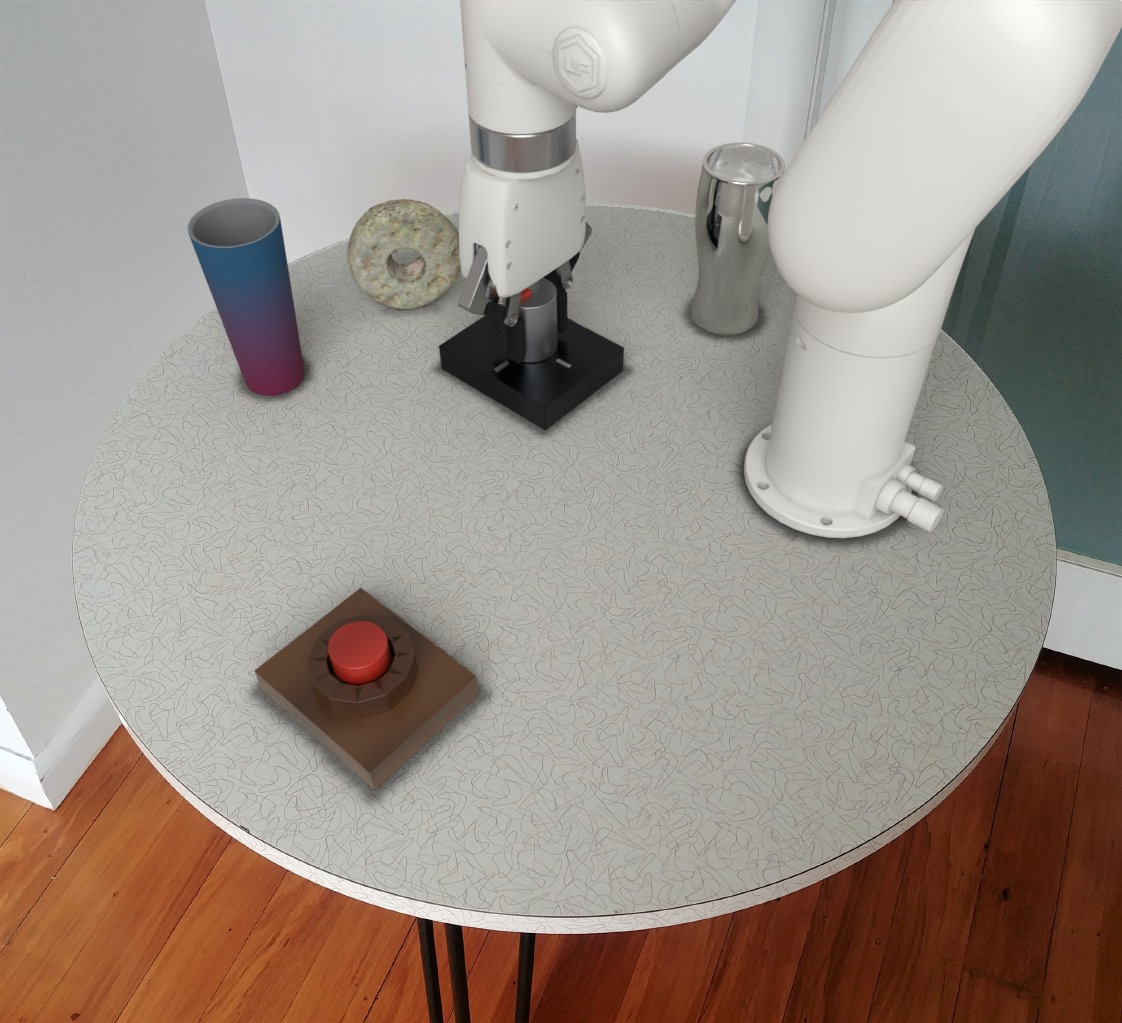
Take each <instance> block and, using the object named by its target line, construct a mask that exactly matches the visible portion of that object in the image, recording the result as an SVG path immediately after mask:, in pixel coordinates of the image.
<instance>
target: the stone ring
mask: <svg viewBox="0 0 1122 1023" xmlns="http://www.w3.org/2000/svg"><path fill="white" fill-rule="evenodd" d="M347 244H348V245H347V254H346V255H347V256H346V257H347V263H348V266H349V270H350V272H351V276H352V278H353V280H354V282H355V284H356V285H357V287H358V288H359V289H360V290H361V291H362V292H363V293H364V294H366V295H367V296H368V297H369V298H371V299H372V300H374V301H375V302H376V303H378V304H382V305H386V306H388V307H390V308H394V309H399V310H415V309H418V308H421V307H423V306H426V305H430V304H431V303H433V302H435V301H437V300H438V299H440V298H441V297H442V296H443V295H445V294H447V293H448V292H449V291H450V290H451V289H452V288H453V286H454V285H455V284H456V283H457V280H458V278H459V274H460V272H461V266H460V252H459V229H457V227H456V226H455V224H453V222H452V221H451V220H450V219H449V218H448V217H447V216H446V215H444V213H442V211H440V210H439V209H437V208H435V207H434V206H432V205H430V204H428V202H427V203H426V202H422V201H421V200H415V199H414V200H413V199H410V198H409V199H405V198H401V199H391V200H386V201H384V202H382V203H381V202H380V203H378V204H376V205H373V206H371V207H369V208H368V210H367V211H365V212H364V213H363V214H362V216H361V217H360V218H359V219H358V220H357V221H356V223H355V225H354V227H353V228H352V231H351V232H350V236H349V239H348V243H347ZM407 249H408V250H411V251H413V252H416V253H417V254H418V255H419V256H418V257H416V258H415V259H414V260H412V261H411V262H409V263H406V264H404V263H398V262H397V261H396V260H394V258H393V256H392V255H393V254H394V253H397V252H398V251H400V250H407Z"/></svg>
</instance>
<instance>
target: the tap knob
mask: <svg viewBox="0 0 1122 1023" xmlns="http://www.w3.org/2000/svg"><path fill="white" fill-rule="evenodd" d="M501 301H502V303H501V304H503V306H505V302H506V297H505V298H501ZM518 319H520V320H522V321H523V323H524V332H525V360H524V361H522V362H539V361H543V360H546V359H548V358H549V357H551V356H552V355H553V354H554V353H555V352H556V350H557V290H556V287H555V285H554V284H553V283H552V282H550V281H549V280H547V279H545V278H541V279H540V280H538V281H536V282H535V283H533V284H532V285H530V286H529V287H527V288H526V289H524V290H522V294H521V302H520V309H519V316H518Z"/></svg>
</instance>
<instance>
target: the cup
mask: <svg viewBox="0 0 1122 1023" xmlns="http://www.w3.org/2000/svg"><path fill="white" fill-rule="evenodd" d="M187 234H188V236H189V239H190V241H191V244H192V246H193V250H194V252H195V254H196V257H197V260H198V263H199V266H200V268H201V271H202V274H203V276H204V279H205V281H206V284H207V287H208V288H209V292H210V294H211V296H212V300H213V302H214V305H215V307H216V310H217V312H218V315H219V317H220V320H221V323H222V326H223V328H224V331H225V333H226V336H227V339H228V341H229V344H230V346H231V350H232V351H233V354H234V357H235V359H236V363H237V365H238V367H239V370H240V372H241V375H242V379H243V381H244V383H245V385H246V387H247V389H249V391H250V392H253V393H254V394H256V395H261V396H268V397H269V396H270V397H273V396H280V395H284V394H287V393H289V392H290V391H293V390H295V389H296V388H297V387H299V385H300V384H301V383H302V382H303V381H304V378H305V374H306V372H305V365H304V359H303V358H304V357H303V353H302V346H301V345H302V344H301V341H300V333H299V327H298V322H297V314H296V309H295V301H294V297H293V296H294V295H293V289H292V283H291V277H290V270H289V263H288V258H287V251H286V246H285V240H284V239H285V238H284V233H283V226H282V221H281V215H280V212H279V210H278V208H276V207H275V206H274V205H272V204H271V203H269V202H267V201H266V200H265V201H264V200H261V199H256V198H248V197H247V198H246V197H240V198H239V197H238V198H231V199H224V200H220V201H217V202H213V203H212V204H208V205H207V206H205V207H202V208H201V209H200V210H199V211H198V212H196V213H195V214H194V215H193V216H192V217H191V218H190V220H189V221H188V224H187Z"/></svg>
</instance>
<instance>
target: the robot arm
mask: <svg viewBox="0 0 1122 1023" xmlns="http://www.w3.org/2000/svg"><path fill="white" fill-rule="evenodd" d="M736 2H737V0H459V5H460V6H459V7H460V18H461V19H460V20H461V32H462V45H463V46H462V47H463V58H464V59H463V60H464V72H465V73H464V74H465V85H466V100H467V111H468V113H467V114H468V125H469V126H468V128H469V138H470V139H469V140H470V152H471V157H470V158H468V159H467V160H466V161H464V163H463V169H462V175H461V182H460V190H459V204H458V232H459V252H460V266H461V269H460V272H461V276H462V278H463V279H465V281H464V285H463V287H462V290H461V293H460V295H459V298H458V301H457V305H458V307H459V308H461V309H463V310H464V311H466V312H467V313H470V314H472V315H478V316H485V315H486V316H489V317H490V319H491V333H492V346H493V348H494V349H495V350H496V351H497V352H499V353H501V354H503V355H504V356H506V357H508V358H510V359H511V360H513V361H515V362H517V363H521V362H522V361H524V360H525V332H524V323H523V321H522V320H520V319H518V316H519V309H520V302H521V294H522V290H524V289H526V288H527V287H529V286H530V285H532V284H533V283H535V282H536V281H538V280H540V279H541V278H545V279H547V280H549V281H550V282H552V283H553V284H554V285H555V287H556V290H557V332H559V333H563V332H564V331H566V330H567V328H568V318H569V317H568V312H569V310H568V308H569V307H568V305H569V304H568V291H567V290H569V289H570V288H571V287H572V285H573V282H574V276H573V271H574V269H575V266H576V265H577V262H578V260H579V259H580V256H581V251H582V250H583V249H584V248H585V245H586V244H587V242H588V240H589V239H590V238H591V235H592V234H593V228H592V226H591V225H590V224H589V222H588V221H587V203H586V201H587V200H586V199H587V198H586V184H585V174H584V167H583V166H584V165H583V161H582V155H581V149H580V145H579V141H578V139H577V109H578V107H579V108H582V109H584V110H587V111H590V112H594V113H602V114H603V113H604V114H608V113H613V112H619V111H621V110H623V109H625V108H628V107H630V106H631V105H632V104H635V103H636V102H637V101H638V100H639V99H641V98H642V97H643V96H644V95H645V94H646V93H647V92H649V91H650V90H651V89H652V88H653V87H654V86H655V85H656V84H658V83H659V82H661V80H662V79H663V78H664V77H666V75H667V74H668V73H669V72H670V71H671V70H672V69H674V68H675V67H676V66H677V65H678V64H679V63H680V62H682V61H683V60H684V59H685V58H686V57H687V56H689V55H690V54H691V53H693V52H694V51H695V50H696V49H697V48H699V47H700V45H701V44H702V43H704V41H706V39H707V38H708V37H709V36H710V35H711V34H712V33H713V31H714V30H715V29H716V28H717V26H718V25H719V24H720V23H721V21H722V20H723V19H724V18H725V16H726V15H727V14H728V12H729V11H730V10H731V9H732V7H733V6H734V4H735V3H736ZM1121 30H1122V0H894V1H893V3H892V4H891V5H890V7H889V9H888V10H887V11H886V13H885V14H884V16H883V17H882V18H881V20H880V21H879V22H878V25H877V26H876V27H875V29H874V31H873V32H872V34H871V35H870V37H869V38H868V40H867V42H866V43H865V44H864V46H863V48H862V49H861V51H860V53H859V54H858V55H857V57H856V58H855V60H854V62H853V64H852V65H851V66H850V67H849V70H848V71H847V73H846V75H845V76H844V78H843V79H842V81H841V82H840V84H839V86H838V87H837V88H836V90H835V91H834V93H833V95H832V96H831V97H830V99H829V101H828V103H827V104H826V106H825V107H824V109H823V110H822V112H821V114H819V117H818V118H817V119H816V121H815V123H814V125H813V126H812V127H811V129H810V130H809V132H808V134H807V136H806V137H805V139H804V140H803V142H802V143H801V145H800V147H799V148H798V150H797V151H796V152H795V154H794V156H793V157H792V159H791V160H790V162H789V164H788V165H787V167H785V170H784V173H783V175H782V177H781V178H780V180H779V182H778V184H777V186H776V188H775V191H774V194H773V196H772V199H771V203H770V207H769V214H768V239H769V245H770V253H771V256H772V259H773V262H774V264H775V267H776V269H777V271H778V272H779V274H780V276H781V277H782V279H783V280H784V282H785V283H786V284H787V285H788V287H789V288H790V289H791V290H792V291H793V292H794V293H795V294H796V296H795V300H794V303H793V304H794V305H793V310H792V316H791V320H790V327H789V331H788V337H787V342H786V347H785V352H784V359H783V363H782V369H781V375H780V380H779V385H778V390H777V391H778V392H777V394H776V395H777V397H776V401H775V406H774V412H773V416H772V418H773V419H772V423H770V424H769V425H767V426H765V428H762V429H761V430H760V431H759V432H758V433H757V434H756V435H755V436H754V437H753V438H752V439H751V442H750V443H749V445H748V447H747V449H746V453H745V457H744V465H743V476H744V482H745V486H746V487H747V489H748V492H749V494H750V495H751V497H752V498H753V500H754V501H755V503H756V504H757V505H758V506H759V507H760V508H761V509H762V510H763V511H764V512H765V513H766V514H767V515H769V516H771V517H772V518H773V519H775V520H776V521H777V522H779V523H781V524H783V525H785V526H787V527H789V528H791V529H793V530H796V531H799V532H802V533H804V534H808V535H811V536H816V537H824V538H827V539H828V538H830V539H849V538H857V537H864V536H867V535H870V534H874V533H878V532H879V531H881V530H883V529H885V528H887V527H889V526H890V525H891V524H893V523H894V522H896V520H898V519H899V518H900V516H901V517H903V518H905V519H907V522H909V523H911V524H913V525H914V526H916V527H918V528H920V529H922V530H924V531H925V532H928V533H930V534H931V533H932V532H933V531H934V530H935V529H936V527H937V526H938V525H939V523H940V521H941V520H942V518H943V516H944V513H945V509H944V508H942V507H940V506H939V505H938V504H935V503H933V502H936V501H937V500H938V498H940V495H941V494H942V491H943V489H944V485H943V484H941V483H939V482H937V481H936V480H933V479H931V478H930V477H925V476H923V475H922V474H919V473H918V472H916V471H917V470H916V469H917V468H916V467H915V466H913V465H911V464H912V462H913V461H912V460H913V458H914V455H915V452H916V449H917V446H916V445H914V444H912V443H910V442H907V441H906V439H907V436H908V432H909V430H910V427H911V423H912V420H913V417H914V414H915V410H916V407H917V404H918V401H919V397H920V394H921V392H922V388H923V385H924V381H925V379H926V376H927V372H928V369H929V366H930V362H931V359H932V356H933V353H934V350H935V347H936V343H937V339H938V337H939V335H940V333H941V330H942V327H943V324H944V321H945V318H946V315H947V312H948V308H949V306H950V302H951V299H952V296H953V293H954V290H955V286H956V283H957V281H958V278H959V274H960V272H961V269H962V266H963V264H964V260H965V258H966V254H967V252H968V249H969V247H970V245H971V241H972V239H973V236H974V234H975V231H976V229H977V227H978V226H979V225H980V224H981V222H982V221H983V220H984V219H985V218H986V217H987V215H988V214H989V213H990V212H991V211H992V210H993V209H994V208H995V206H997V204H998V203H999V202H1000V201H1001V200H1002V198H1003V197H1004V196H1006V194H1007V193H1008V192H1009V191H1010V190H1011V188H1012V187H1013V186H1014V185H1015V184H1016V183H1017V181H1019V179H1020V178H1021V177H1022V176H1023V175H1024V174H1025V172H1026V171H1027V170H1028V169H1029V168H1030V167H1031V165H1033V164H1034V162H1035V161H1036V160H1037V159H1038V157H1039V156H1041V154H1042V153H1043V152H1044V150H1045V149H1046V148H1047V147H1048V146H1049V144H1050V143H1051V142H1052V141H1053V140H1054V138H1055V137H1056V136H1057V134H1058V133H1059V132H1060V131H1061V129H1063V127H1064V126H1065V124H1066V123H1067V122H1068V120H1069V119H1070V117H1071V116H1072V115H1073V113H1074V111H1075V110H1076V109H1077V107H1078V106H1079V105H1080V103H1081V102H1082V100H1083V99H1084V97H1085V96H1086V94H1087V92H1088V90H1089V89H1090V87H1091V85H1092V83H1093V82H1094V80H1095V78H1096V76H1097V75H1098V73H1099V71H1100V69H1101V67H1102V65H1103V64H1104V61H1105V59H1106V58H1107V56H1108V54H1109V53H1110V50H1111V48H1112V47H1113V44H1114V43H1115V41H1116V39H1117V37H1118V35H1119V33H1120V31H1121ZM505 297H506V302H505V306H503V305H501V304H502V303H499V302H500V298H501V299H502V298H505ZM913 491H914V492H916V493H917V494H918V495H920V496H922V497H919V496H916V495H914V494H913V493H912V492H913ZM931 501H932V502H931Z"/></svg>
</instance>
